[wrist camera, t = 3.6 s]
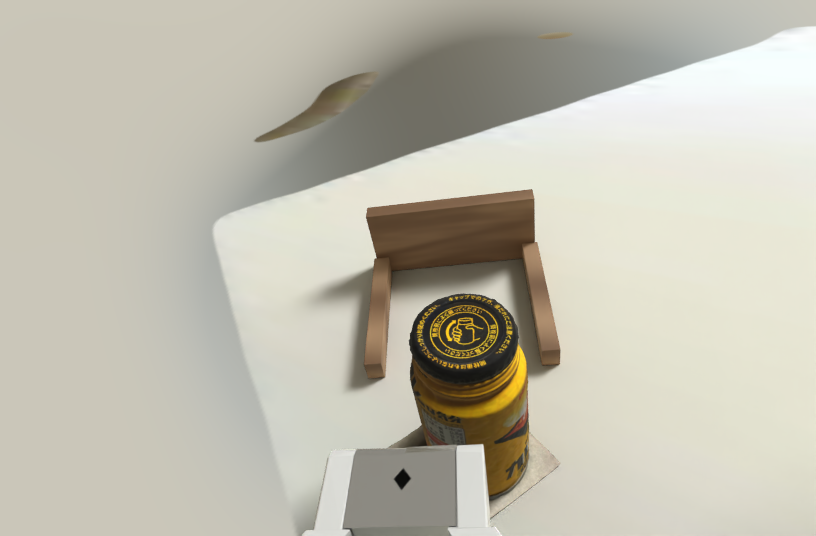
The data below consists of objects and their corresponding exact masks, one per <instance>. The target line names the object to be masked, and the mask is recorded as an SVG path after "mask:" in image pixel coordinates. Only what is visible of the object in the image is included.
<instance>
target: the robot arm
mask: <svg viewBox="0 0 816 536" xmlns="http://www.w3.org/2000/svg"><path fill="white" fill-rule="evenodd" d="M301 536H502V535H501V533H500V532H499V531H498V529H497V528H496V527H491V524H490V507H489V496H488V486H487V475H486V465H485V455H484V446H483V444H475V445H458V446H457V445H440V446H422V447H406V448H389V449H342V450H331V453H330V455H329V457H328V459H327V464H326V469H325V474H324V479H323V484H322V489H321V494H320V498H319V503H318V508H317V513H316V518H315V523H314V528H313V530H306V531H305V532H304V533H303V534H302V535H301Z"/></svg>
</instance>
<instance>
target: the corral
mask: <svg viewBox="0 0 816 536" xmlns="http://www.w3.org/2000/svg"><path fill="white" fill-rule="evenodd" d="M366 219H367V222H368V226H369V230H370V234H371V238H372V241H373V245H374V249H375V253H376V257H377V259H375V260H374V270H373V280H372V290H371V300H370V309H369V319H368V329H367V339H366V349H365V359H364V366H365V369H366V372H367V375H368V378H380V377H385V371H386V355H387V340H388V325H389V310H390V295H391V280H392V271H398V270H408V269H418V268H428V267H438V266H449V265H459V264H469V263H479V262H489V261H499V260H509V259H520V258H523V263H524V269H525V274H526V280H527V285H528V291H529V296H530V302H531V307H532V313H533V319H534V324H535V330H536V335H537V341H538V346H539V352H540V357H541V363H542V365H554V364H560V346H559V341H558V336H557V332H556V327H555V322H554V318H553V313H552V309H551V304H550V299H549V295H548V290H547V285H546V281H545V276H544V271H543V267H542V262H541V258H540V253H539V248H538V244H537V242H535V225H534V195H533V191H532V189H531V190H522V191H513V192H504V193H495V194H487V195H478V196H469V197H460V198H451V199H442V200H434V201H425V202H416V203H407V204H398V205H389V206H381V207H372V208H367V214H366Z"/></svg>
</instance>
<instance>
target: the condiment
mask: <svg viewBox="0 0 816 536" xmlns="http://www.w3.org/2000/svg"><path fill="white" fill-rule="evenodd" d="M518 338H519V336H518V328H517V325H516V324H515V321H514V318H513V317H512V315H511V314H510V313H509V312H508V311H507V310H506V309H505V308H504V307H503V306H502V305H501V304H500V303H498V302H497V301H496V300H495V299H490V298H488V297H485V296H482V295H476V294H456V295H451V296H448V297H444V298H441V299H438V300H436V301H435V302H433V303H432V304H430V305H428V306H427V307H425V308H424V309H423V310H422V311H421V312H420V313H419V314H418V316H417V318H416V319H415V321H414V323H413V327H412V332H411V333H410V340H409V345H410V351H411V353H412V363H411V367H410V380H411V385H412V389H413V393H414V396H415V400H416V404H417V408H418V412H419V416H420V419H421V423H422V425H421V426H420V427H419V428H418V429H416V430H415V431H413V432H411V433H410V434H409V435H408V436H406V437H405V438H403V439H402V440H400V441H398V442H397V443H395V444H393V445H391V446H390V447H389V448H406V447H422V446H440V445H457V446H458V445H475V444H483V446H484V455H485V465H486V475H487V486H488V496H489V507H490V518H491V517H493V516H494V515H496V514H497V513H498V512H499V511H501V510H502V509H503V508H505V507H506V506H508V505H509V504H510V503H512V502H513V501H514V500H516V499H517V498H518V497H519V496H521V495H522V494H523V493H524V492H526V491H527V490H528V489H530V488H531V487H532V486H534V485H535V484H536V483H537V482H539V481H540V480H541V479H542V478H543V477H545V476H546V475H548V474H549V473H550V472H551V471H553V470H554V469H555V468H556V467H557V466H558V465H559V464H560V462H559V461H558V460H557V459H556V458H555V457H554V456H553V455H552V454H551V453H550V452H549V451H548V450H547V449H546V448H545V447H544V446H543V445H542V444H541V443H540V442H539V441H538V440H537V439H536V438H535V437H534V436H533V435H532V434H531V433H530V432H529V422H528V391H527V388H528V372H527V363H526V359H525V356H524V353H523V351H522V349H521V348H520V346H519V344H518ZM389 448H387V449H389Z"/></svg>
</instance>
